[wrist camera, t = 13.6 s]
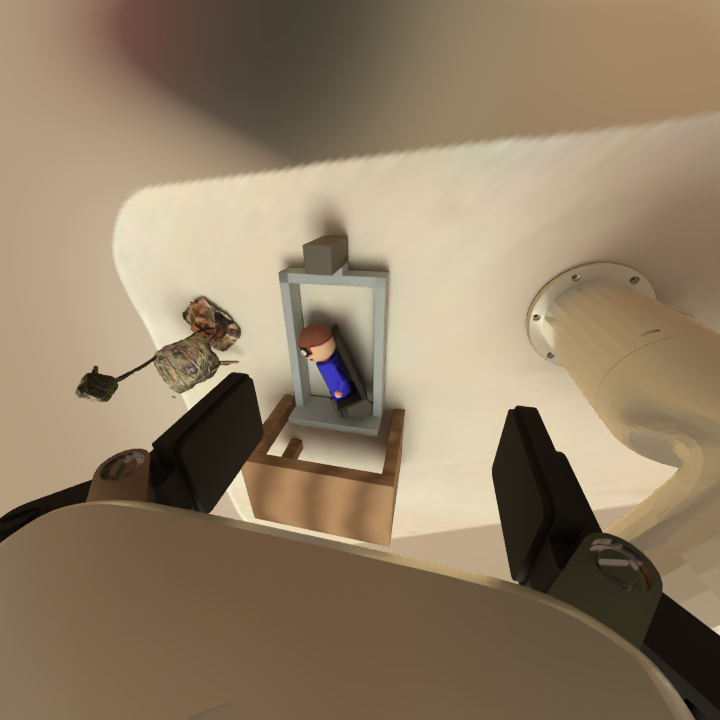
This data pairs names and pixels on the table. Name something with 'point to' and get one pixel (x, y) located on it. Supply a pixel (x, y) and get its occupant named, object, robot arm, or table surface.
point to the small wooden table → (323, 486)
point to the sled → (323, 268)
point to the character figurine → (335, 369)
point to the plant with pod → (177, 355)
